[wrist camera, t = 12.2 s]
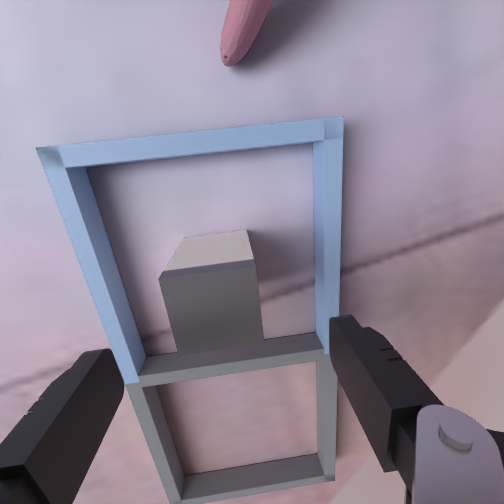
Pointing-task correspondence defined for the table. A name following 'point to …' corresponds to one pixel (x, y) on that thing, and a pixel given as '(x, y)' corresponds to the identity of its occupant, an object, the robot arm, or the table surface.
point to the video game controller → (242, 28)
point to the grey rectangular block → (213, 293)
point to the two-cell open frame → (222, 361)
